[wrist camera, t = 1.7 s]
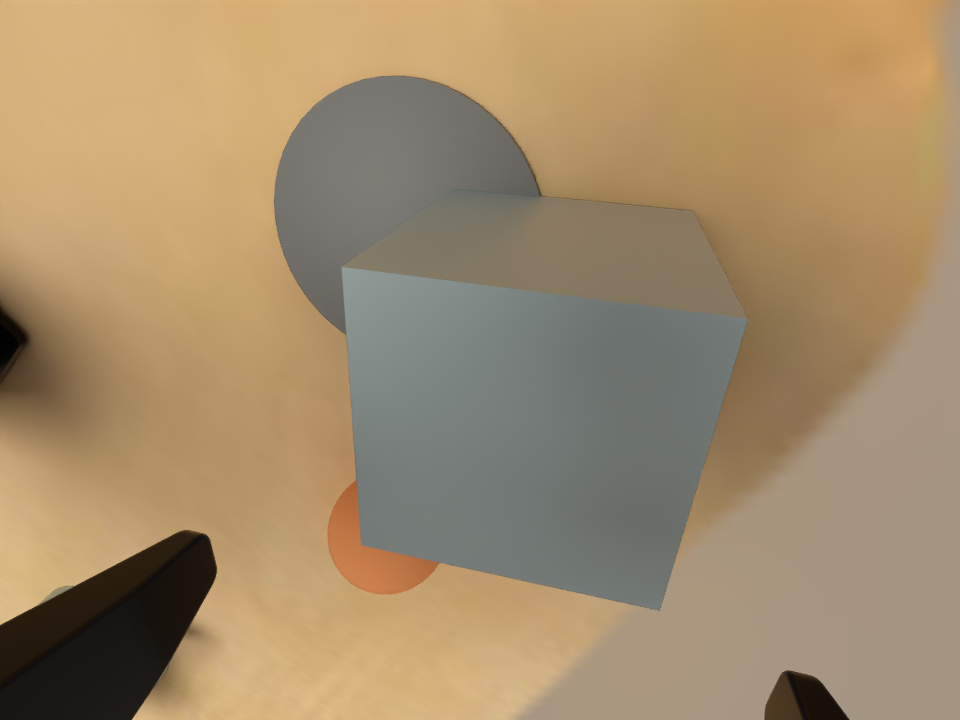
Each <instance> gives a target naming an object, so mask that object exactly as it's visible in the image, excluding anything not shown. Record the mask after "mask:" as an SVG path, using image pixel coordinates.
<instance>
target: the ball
mask: <svg viewBox="0 0 960 720" xmlns="http://www.w3.org/2000/svg"><path fill="white" fill-rule="evenodd" d="M328 545H329V550H330V554H331V557H332V559H333V561H334V563H335V565H336V567H337V568H338V570H339V571H340V573H341V574H342V575H343V576H344V577H345V578H346V579H347V580H348V581H349V582H350V583H352V584H353V585H355V586H356V587H358V588H360V589H362V590H365V591H367V592H371V593H375V594H395V593H399V592H403V591H406V590H409V589H411V588H413V587H415V586H417V585H418V584H420V583H421V582H422V581H424V580H425V579H426V578H427V577H428V576H429V575H430V574H431V573H432V572H433V571H434V570H435V568H436V567H437V565H438V564H439V562H435V561H430V560H426V559H421V558H417V557H412V556H408V555H403V554H398V553H394V552H389V551H385V550H380V549H376V548H371V547H366V546H362V545H361V536H360V522H359V508H358V494H357V480H356V481H355V482H354V483H352V484H351V485H350V486H349V487H348V488H347V489H346V490H345V491H344V492H343V493H342V495H341V496H340V497H339V499H338V501H337V502H336V504H335V506H334V508H333V511H332V513H331V516H330V519H329V525H328Z"/></svg>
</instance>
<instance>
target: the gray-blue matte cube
mask: <svg viewBox="0 0 960 720" xmlns="http://www.w3.org/2000/svg"><path fill="white" fill-rule="evenodd" d="M342 280H343V294H344V308H345V322H346V337H347V351H348V365H349V379H350V394H351V408H352V422H353V437H354V451H355V465H356V479H357V494H358V508H359V522H360V536H361V545H362V546H366V547H371V548H376V549H380V550H385V551H389V552H394V553H398V554H403V555H408V556H412V557H417V558H421V559H426V560H430V561H435V562H440V563H444V564H449V565H453V566H458V567H462V568H467V569H471V570H476V571H481V572H485V573H490V574H494V575H499V576H503V577H508V578H513V579H517V580H522V581H526V582H531V583H535V584H540V585H545V586H549V587H554V588H558V589H563V590H567V591H572V592H577V593H581V594H586V595H590V596H595V597H599V598H604V599H608V600H613V601H618V602H622V603H627V604H631V605H636V606H640V607H645V608H650V609H654V610H660V608H661V604H662V602H663V598H664V595H665V592H666V588H667V585H668V582H669V578H670V575H671V572H672V569H673V565H674V562H675V559H676V555H677V552H678V549H679V545H680V542H681V539H682V536H683V532H684V529H685V526H686V522H687V519H688V516H689V512H690V509H691V506H692V503H693V499H694V496H695V493H696V489H697V486H698V483H699V479H700V476H701V473H702V470H703V466H704V463H705V460H706V456H707V453H708V450H709V446H710V443H711V440H712V437H713V433H714V430H715V427H716V423H717V420H718V417H719V413H720V410H721V407H722V404H723V400H724V397H725V394H726V390H727V387H728V384H729V380H730V377H731V374H732V371H733V367H734V364H735V361H736V357H737V354H738V351H739V347H740V344H741V341H742V338H743V334H744V331H745V328H746V324H747V321H748V317H747V315H746V313H745V311H744V310H743V308H742V306H741V304H740V302H739V300H738V298H737V296H736V294H735V292H734V290H733V288H732V286H731V284H730V282H729V280H728V278H727V276H726V275H725V273H724V271H723V269H722V267H721V265H720V263H719V261H718V259H717V257H716V255H715V253H714V251H713V249H712V247H711V245H710V243H709V241H708V240H707V238H706V236H705V234H704V232H703V230H702V228H701V226H700V224H699V222H698V220H697V218H696V216H695V214H694V212H693V211H689V210H679V209H669V208H658V207H648V206H638V205H627V204H617V203H607V202H597V201H586V200H576V199H566V198H555V197H545V196H540V197H532V196H522V195H511V194H501V193H491V192H481V191H470V190H460V189H453V190H452V191H450V192H449V193H447V194H446V195H445V196H443V197H442V198H440V199H439V200H437V201H436V202H434V203H433V204H432V205H430V206H429V207H427V208H426V209H424V210H423V211H422V212H420V213H419V214H417V215H416V216H414V217H413V218H411V219H410V220H409V221H407V222H406V223H404V224H403V225H401V226H400V227H398V228H397V229H396V230H394V231H393V232H391V233H390V234H388V235H387V236H386V237H384V238H383V239H381V240H380V241H378V242H377V243H375V244H374V245H373V246H371V247H370V248H368V249H367V250H365V251H364V252H362V253H361V254H360V255H358V256H357V257H355V258H354V259H352V260H351V261H349V262H348V263H347V264H345V265H344V266H342Z"/></svg>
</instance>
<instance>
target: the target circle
mask: <svg viewBox="0 0 960 720" xmlns="http://www.w3.org/2000/svg"><path fill="white" fill-rule="evenodd" d="M453 189H460V190H470V191H481V192H491V193H501V194H511V195H522V196H532V197H540V193H539V189H538V187H537V184H536V181H535V178H534V176H533V173H532V170H531V168H530V166H529V164H528V162H527V161H526V159H525V157H524V155H523V153H522V151H521V150H520V148H519V147H518V145H517V144H516V142H515V141H514V140H513V138H512V137H511V135H510V134H509V133H508V132H507V131H506V129H505V128H504V127H503V126H502V125H501V124H500V123H499V122H498V121H497V119H496V118H494V117H493V116H492V115H491V114H490V113H489V112H487V111H486V110H485V109H484V108H483V107H482V106H480V105H479V104H478V103H476V102H474V101H473V100H471V99H470V98H468V97H467V96H465V95H464V94H462V93H460V92H458V91H456V90H453V89H451V88H449V87H447V86H445V85H443V84H439V83H436V82H432V81H429V80H426V79H421V78H414V77H407V76H380V77H375V78H369V79H363V80H360V81H357V82H354V83H351V84H349V85H346V86H344V87H342V88H340V89H338V90H336V91H334V92H332V93H331V94H329V95H327V96H326V97H325V98H324V99H322V100H321V101H320V102H318V103H317V104H316V105H314V106H313V108H312V109H311V110H310V111H309V112H308V113H307V114H306V115H305V116H304V117H303V118H302V119H301V121H300V122H299V124H298V125H297V127H296V128H295V130H294V131H293V132H292V134H291V136H290V138H289V140H288V142H287V144H286V146H285V148H284V151H283V154H282V157H281V160H280V163H279V166H278V171H277V177H276V182H275V196H274V207H275V221H276V226H277V232H278V237H279V240H280V244H281V247H282V250H283V254H284V256H285V259H286V261H287V263H288V266H289V268H290V270H291V272H292V274H293V276H294V278H295V279H296V281H297V283H298V285H299V286H300V288H301V289H302V291H303V292H304V294H305V295H306V296H307V298H308V299H309V301H310V302H311V303H312V304H313V305H314V306H315V307H316V309H317V310H318V311H319V312H320V313H321V314H322V315H323V316H324V317H325V318H326V319H327V320H328V321H329V322H330V323H331V324H333V325H334V326H335V327H337V328H338V329H339V330H340V331H342V332H343V333H344V334H346V322H345V308H344V294H343V280H342V266H344V265H345V264H347V263H348V262H349V261H351V260H352V259H354V258H355V257H357V256H358V255H360V254H361V253H362V252H364V251H365V250H367V249H368V248H370V247H371V246H373V245H374V244H375V243H377V242H378V241H380V240H381V239H383V238H384V237H386V236H387V235H388V234H390V233H391V232H393V231H394V230H396V229H397V228H398V227H400V226H401V225H403V224H404V223H406V222H407V221H409V220H410V219H411V218H413V217H414V216H416V215H417V214H419V213H420V212H422V211H423V210H424V209H426V208H427V207H429V206H430V205H432V204H433V203H434V202H436V201H437V200H439V199H440V198H442V197H443V196H445V195H446V194H447V193H449V192H450V191H452V190H453Z"/></svg>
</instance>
